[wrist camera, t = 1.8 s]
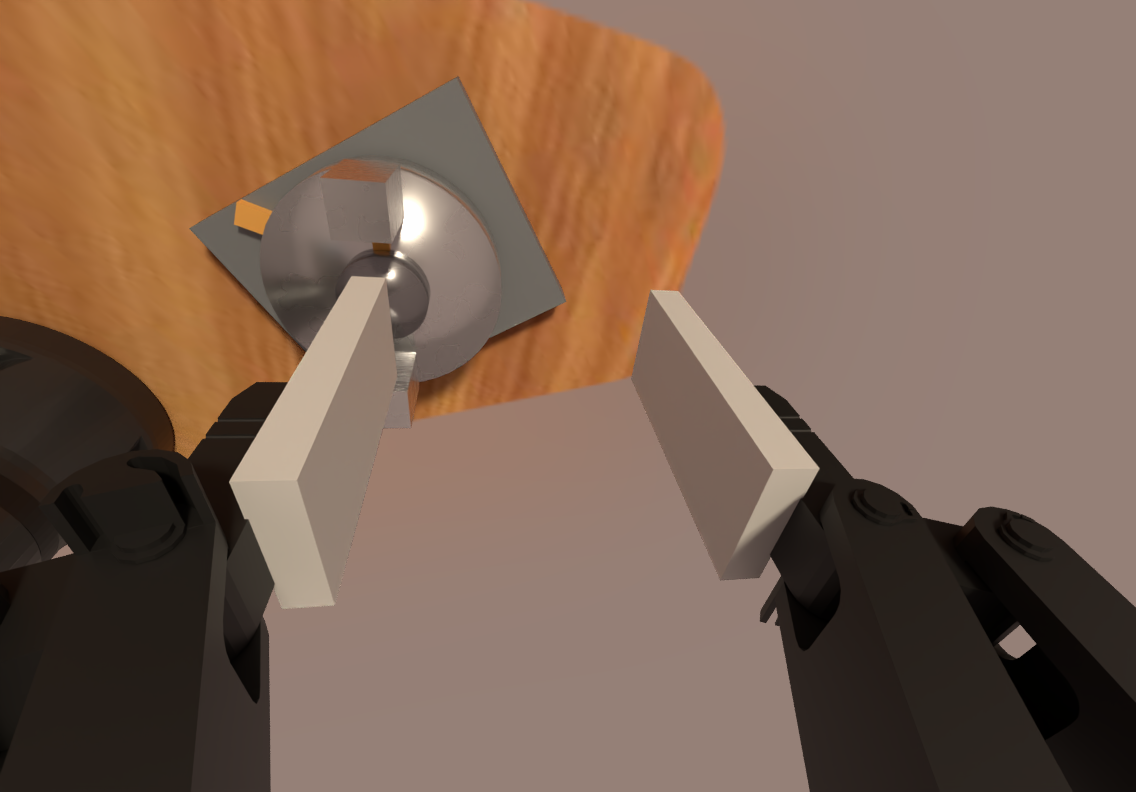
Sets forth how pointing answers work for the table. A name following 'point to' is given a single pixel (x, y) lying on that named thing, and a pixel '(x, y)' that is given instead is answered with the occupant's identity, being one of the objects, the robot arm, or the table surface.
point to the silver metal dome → (387, 263)
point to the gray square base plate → (434, 140)
